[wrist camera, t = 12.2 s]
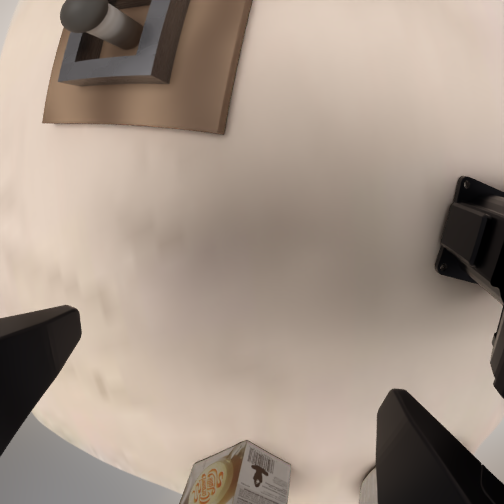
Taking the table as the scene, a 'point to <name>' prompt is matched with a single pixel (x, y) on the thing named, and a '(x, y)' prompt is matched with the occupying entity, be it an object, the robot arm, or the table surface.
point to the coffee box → (239, 478)
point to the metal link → (128, 67)
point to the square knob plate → (154, 95)
